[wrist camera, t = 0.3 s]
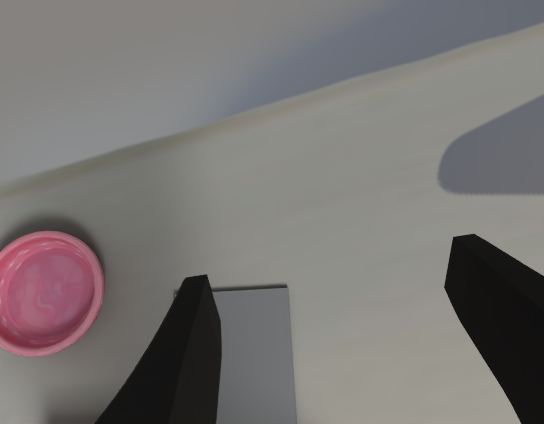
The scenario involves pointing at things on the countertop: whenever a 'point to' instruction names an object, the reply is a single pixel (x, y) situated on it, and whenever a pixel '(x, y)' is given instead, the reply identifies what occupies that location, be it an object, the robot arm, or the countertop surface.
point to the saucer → (47, 292)
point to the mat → (256, 358)
